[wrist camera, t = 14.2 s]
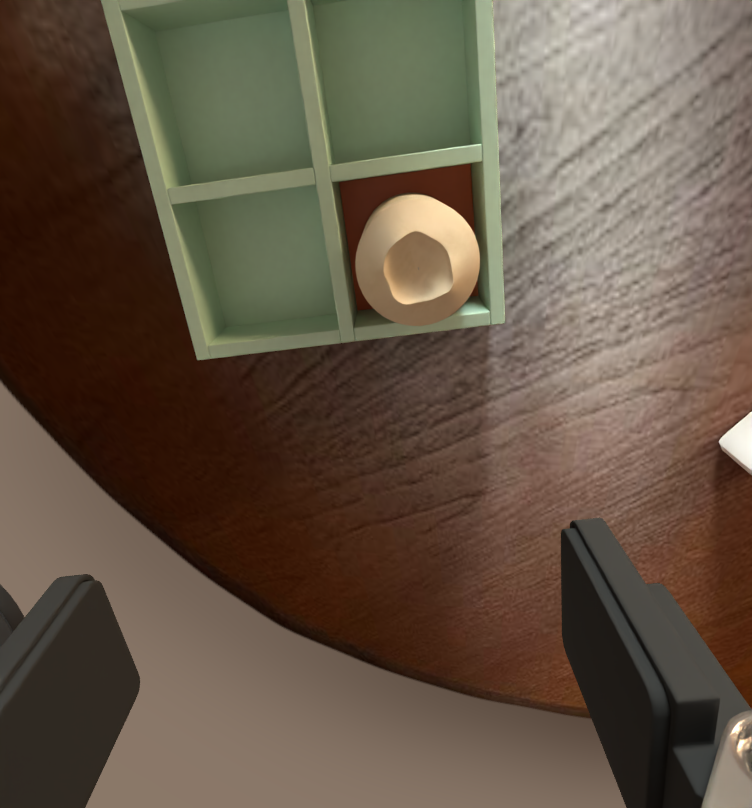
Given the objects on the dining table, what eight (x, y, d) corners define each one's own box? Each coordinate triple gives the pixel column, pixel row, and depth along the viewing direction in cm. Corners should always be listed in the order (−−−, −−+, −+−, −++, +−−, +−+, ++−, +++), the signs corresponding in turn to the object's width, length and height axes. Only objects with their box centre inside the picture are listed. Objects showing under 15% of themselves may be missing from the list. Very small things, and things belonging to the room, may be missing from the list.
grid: (219, 338, 36) (196, 360, 31) (140, 18, 29) (98, -8, 25) (490, 304, 34) (505, 323, 30) (474, -36, 28) (490, -73, 23)
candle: (475, 227, 32) (512, 250, 23) (421, 306, 34) (435, 358, 24) (396, 171, 31) (401, 172, 22) (345, 256, 33) (328, 290, 23)
